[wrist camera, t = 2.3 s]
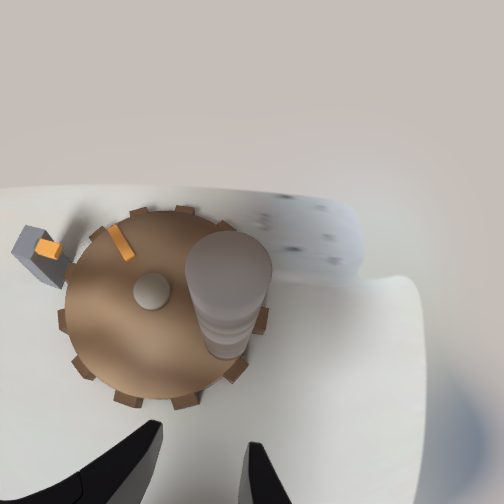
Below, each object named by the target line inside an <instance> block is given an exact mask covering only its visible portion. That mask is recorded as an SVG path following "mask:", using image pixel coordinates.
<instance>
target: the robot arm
mask: <svg viewBox="0 0 504 504" xmlns="http://www.w3.org/2000/svg"><path fill="white" fill-rule="evenodd" d="M162 441H163V424H162V423H161V422H158V421H155V420H149V421H148V422H146V423H145V424H144V425H142V426H141V427H140V428H138V429H137V430H136V431H134V432H133V433H132V434H130V435H129V436H128V437H126V438H125V439H124V440H122V441H121V442H119V443H118V444H117V445H115V446H114V447H112V448H111V449H110V450H108V451H107V452H105V453H104V454H103V455H101V456H100V457H98V458H97V459H95V460H94V461H92V462H91V463H90V464H88V465H87V466H85V467H84V468H82V469H81V470H80V472H79V471H77V472H76V473H74V474H73V475H71V476H70V477H68V478H66V479H65V480H63V481H61V482H59V483H57V484H55V485H53V486H51V487H49V488H46V489H44V490H41V491H39V492H36V493H34V494H31V495H29V496H26V497H23V498H20V499H16V500H0V504H140V503H141V501H142V498H143V496H144V494H145V492H146V489H147V487H148V485H149V483H150V481H151V478H152V475H153V472H154V469H155V465H156V462H157V458H158V455H159V451H160V448H161V444H162ZM238 504H292V503H291V501H290V499H289V497H288V495H287V493H286V491H285V489H284V487H283V485H282V484H281V482H280V480H279V478H278V476H277V474H276V472H275V470H274V468H273V465H272V463H271V461H270V459H269V457H268V455H267V453H266V451H265V449H264V447H263V445H262V444H261V443H258V442H249V443H248V446H247V449H246V452H245V455H244V461H243V467H242V474H241V481H240V487H239V496H238Z"/></svg>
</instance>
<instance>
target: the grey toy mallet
mask: <svg viewBox="0 0 504 504" xmlns="http://www.w3.org/2000/svg"><path fill="white" fill-rule="evenodd" d="M62 249H63V247H62V245H61V244H60V243H56V242H54V241H53V239H52V238H51V237H50V235H49V234H48V233H47V231H46V230H44V229H40V228H36V227H32V226H28V225H25V227H24V228H23V230H22V232H21V234H20V236H19V238H18V240H17V241H16V243H15V245H14V247H13V249H12V251H11V253H12V254H13V255H14V256H15V257H16V258H17V259H18V260H19V261H20V262H21V263H22V264H23V265H24V266H25V267H26V268H27V269H28V270H29V271H30V272H31V273H32V274H33V275H34V276H35V277H36V278H37V279H39V280H40V281H41V282H42V283H45V284H48V285H50V286H53V287H56V288H59V289H61V288H62V286H63V283H64V281H65V280H64V279H63V277H64V275H65V273H66V270H67V268H68V266H69V264H70V262H71V261H70V260H69V259H68V258H67V257H66V255H65V254H64V253H63V252H62Z"/></svg>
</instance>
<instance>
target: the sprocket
mask: <svg viewBox="0 0 504 504" xmlns="http://www.w3.org/2000/svg"><path fill="white" fill-rule="evenodd" d="M129 212H130V218H127V219H125V220H123V221H121V222H118V223H117V224H115V225H113V226H112V227H110V228H108V229H107V230H106V229H105V228H104V227H103V226H101V227H100V228H99V229H98V230H97V231H95V232H94V233H93V234H92V235H91V236H90V237H89V238H90V240H91V241H92V243H91V244H90V245H89V246H88V247H87V249H86V250H85V251H84V252H83V254H82V255H81V257H80V258H79V260H78V262H77V263H76V264H75V263H72V262H70V264H69V266H68V268H67V270H66V273H65V275H64V277H63V279H64V280H65V281H66V282H67V283H68V287H67V291H66V299H65V309H61V310H58V322H59V330H61V331H63V332H64V333H66V334H68V335H69V337H70V340H71V342H72V345H73V347H74V349H75V351H76V353H77V354H78V355H77V356H76V357H75V358H74V359H73V360H72V361H71V362H72V363H73V365H74V366H75V368H76V369H77V370H78V372H79V373H80V374H81V376H82V377H83V378H85V379H88V380H92V381H93V380H94V379H95V378H96V377H97V378H98V379H100V380H101V381H102V382H104V383H105V384H107V385H108V386H110V387H112V388H113V389H116V391H115V395H114V400H113V401H116V402H118V403H121V404H124V405H127V406H129V407H132V408H141V406H142V401H143V398H148V399H158V400H162V399H171V401H172V404H173V407H174V410H179V409H183V408H187V407H191V406H194V405H198V404H200V403H199V400H198V398H197V395H196V393H197V392H200V391H202V390H204V389H206V388H207V387H209V386H211V385H212V384H214V383H215V382H217V381H218V380H220V379H221V378H222V377H225V378H226V379H227V380H228V381H229V382H231V383H232V384H233V383H234V382H235V381H236V380H237V378H238V377H239V376H240V375H241V374H242V373H243V372H244V371H245V369H246V368H247V367H248V364H247V363H246V362H245V361H243V360H242V359H241V358H240V357H241V355H242V354H243V352H244V351H245V349H246V346H247V344H248V341H249V338H250V336H251V333H254V334H260V335H263V333H264V331H265V330H266V324H267V317H268V311H269V308H264V307H261V306H262V303H263V300H264V297H265V294H266V292H267V289H268V286H269V283H270V280H271V276H272V264H271V260H270V257H269V255H268V253H267V251H266V250H265V248H264V247H263V246H262V245H261V244H260V243H259V242H258V241H257V240H256V239H254V238H253V237H251V236H249V235H247V234H244V233H241V232H237V230H235V229H234V228H233V227H231V226H230V225H229V224H227V223H226V222H225V221H223V220H222V221H221V222H220V223H218V224H217V225H215V224H214V223H212V222H210V221H208V220H206V219H203V218H201V217H198V216H195V211H194V208H191V207H185V206H179V205H177V206H176V208H175V211H156V212H148V210H147V207H144V208H140V209H136V210H133V211H129Z"/></svg>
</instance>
